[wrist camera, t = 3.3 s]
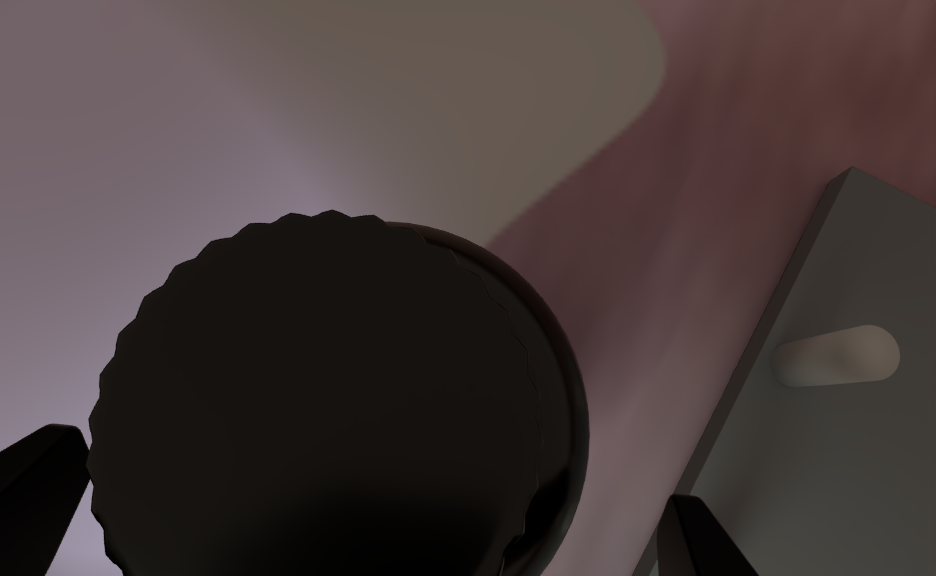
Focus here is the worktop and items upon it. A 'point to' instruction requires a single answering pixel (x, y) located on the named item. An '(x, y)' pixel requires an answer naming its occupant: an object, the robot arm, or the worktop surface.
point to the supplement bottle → (339, 411)
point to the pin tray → (834, 401)
